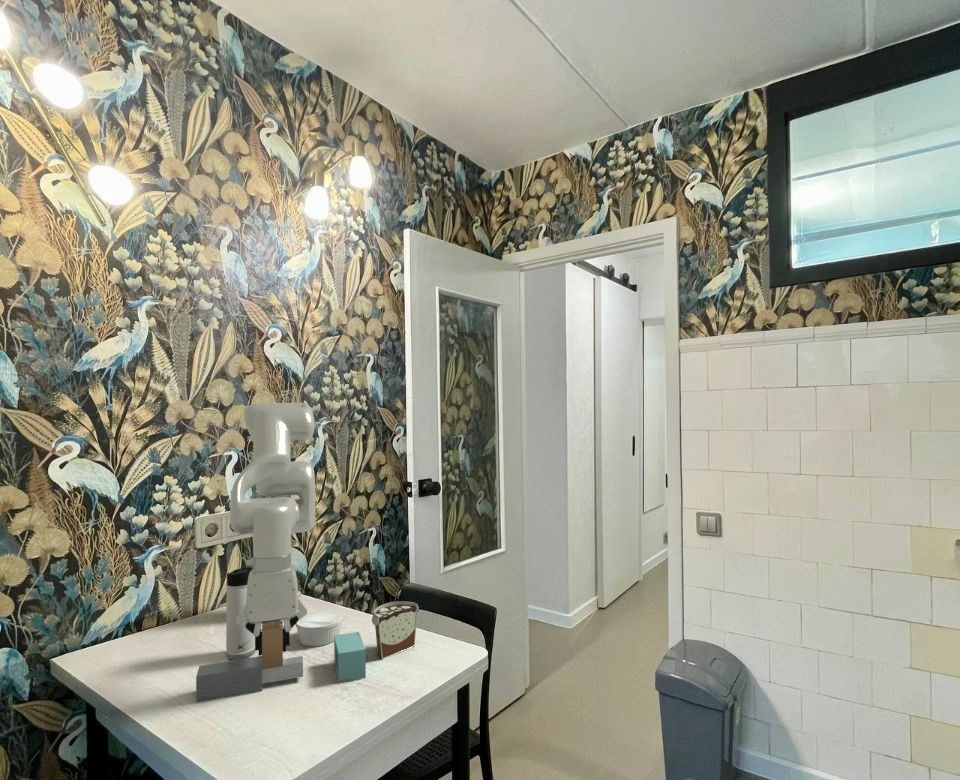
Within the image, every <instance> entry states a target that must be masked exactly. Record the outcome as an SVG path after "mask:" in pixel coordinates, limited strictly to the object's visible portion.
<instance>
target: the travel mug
mask: <svg viewBox="0 0 960 780" xmlns="http://www.w3.org/2000/svg"><path fill="white" fill-rule="evenodd" d="M251 570H253V568H252V567H250V566H245V567H241V568H237V569H234V570H232V571H231V572H227V573H226V593H225V594H226V601H225V602H226V604H225V605H226V610H225V611H226V612H225V614H226V621H225V622H226V624H225V625H226V627H225V629H226V630H225V631H226V635H225V637H226V640H225V641H226V642H225V643H226V644H225V647H226V650H225V651H226V653H225V654H226V658H227V659H228V660H230V661H233V660H239V659H245V658H251V656H253V655H254V654H255V653H256V651H255V636H254V635H253V634H252V633H251V632H250V631H249V630H247V629H246V628H245V627H242V626H240V625H238V624H237V623H236V620H237V618H238V616H239V615H240V613H241V612H242V610H243V609H244V607H245V606H246V594H247V583H248V577H249V573H250V571H251ZM254 624H255V623H254Z"/></svg>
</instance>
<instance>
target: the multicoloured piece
mask: <svg viewBox="0 0 960 780" xmlns="http://www.w3.org/2000/svg"><path fill="white" fill-rule="evenodd" d="M283 626H284V622H283V620H276V621H270V622H262V624H261V631H262V655H261V656H262V685H264V684H268V683H272V682H279V681H280V682H281V681H286V680H290V679H297V678H301V677H304V659H303V656H302V655H301V656H295V657H290V658H289V657H288V658H283V657H284V651H283Z"/></svg>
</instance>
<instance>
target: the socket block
mask: <svg viewBox="0 0 960 780" xmlns="http://www.w3.org/2000/svg"><path fill="white" fill-rule="evenodd" d="M333 645H334V647H333V649H334V650H333V656H334V657H333V658H334V659H333V663H334V667H335V671H336V677H337V680H338V683H345V682H351V681H350V680H352V681H357V680H361V678H363V679H366V678H367V677H366V673H367V672H366V667H367V666H366V647H365V645H364V641H363V639H362V636H361V634H360V632H359V631H354V632H348V633H341V634H339V635H334V643H333ZM356 679H357V680H356Z"/></svg>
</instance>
